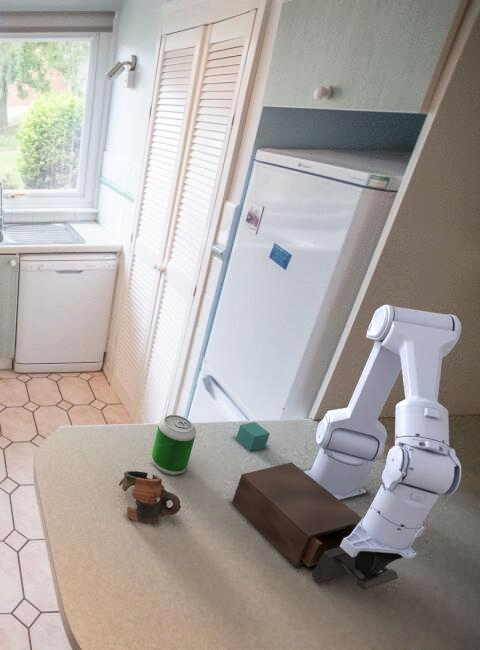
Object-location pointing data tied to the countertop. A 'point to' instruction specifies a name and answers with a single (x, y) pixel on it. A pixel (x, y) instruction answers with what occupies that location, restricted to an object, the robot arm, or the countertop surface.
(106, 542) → the countertop surface
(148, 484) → the pottery mug
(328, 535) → the drawer
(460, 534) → the countertop surface
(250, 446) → the block
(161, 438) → the soda can
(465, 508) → the countertop surface
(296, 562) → the cabinet
